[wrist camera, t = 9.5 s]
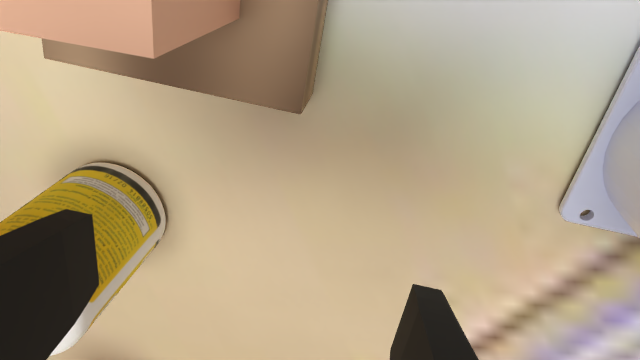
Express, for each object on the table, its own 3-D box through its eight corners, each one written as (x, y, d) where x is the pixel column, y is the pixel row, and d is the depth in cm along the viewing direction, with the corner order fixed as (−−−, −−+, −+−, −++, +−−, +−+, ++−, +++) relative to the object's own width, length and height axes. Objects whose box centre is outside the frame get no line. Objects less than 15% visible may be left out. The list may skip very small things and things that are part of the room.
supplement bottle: (68, 143, 22) (-146, 276, 13) (175, 180, 22) (29, 335, 13) (67, 230, 25) (-111, 386, 16) (162, 262, 25) (34, 436, 16)
